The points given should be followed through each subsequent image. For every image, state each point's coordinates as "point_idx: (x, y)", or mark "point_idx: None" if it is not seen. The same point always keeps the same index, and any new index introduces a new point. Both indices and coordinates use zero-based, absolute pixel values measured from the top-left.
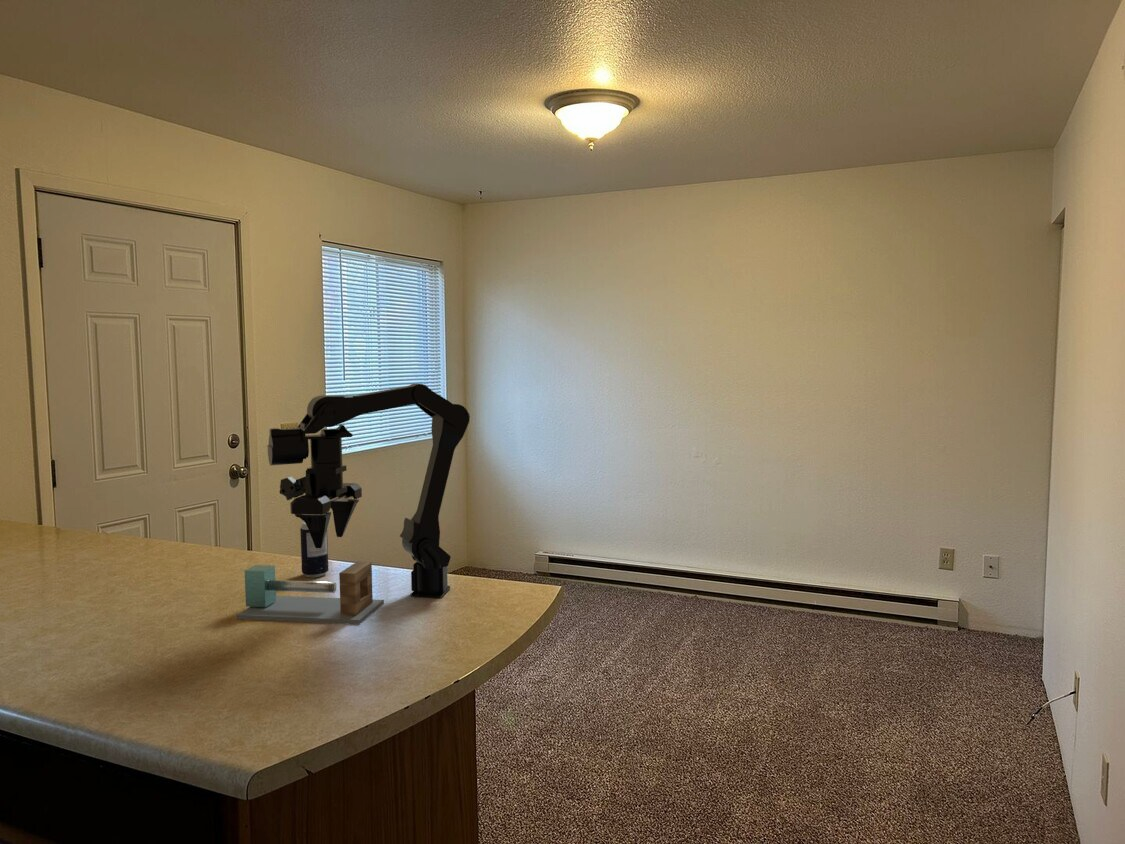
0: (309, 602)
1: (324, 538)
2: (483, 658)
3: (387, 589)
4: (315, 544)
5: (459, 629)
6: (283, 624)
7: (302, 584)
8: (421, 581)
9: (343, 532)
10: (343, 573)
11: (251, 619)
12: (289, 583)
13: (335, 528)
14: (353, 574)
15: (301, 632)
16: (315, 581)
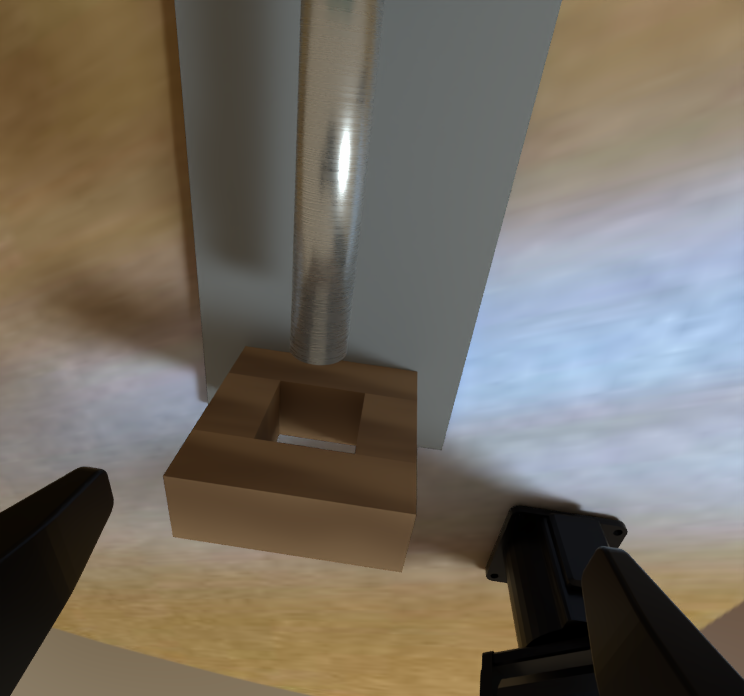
0: (424, 148)
1: (53, 620)
2: (80, 631)
3: (642, 423)
4: (43, 499)
5: (226, 603)
6: (151, 106)
7: (300, 171)
8: (520, 578)
9: (592, 638)
10: (166, 492)
11: None
12: (304, 59)
13: (647, 636)
14: (176, 527)
15: (86, 231)
16: (323, 257)
